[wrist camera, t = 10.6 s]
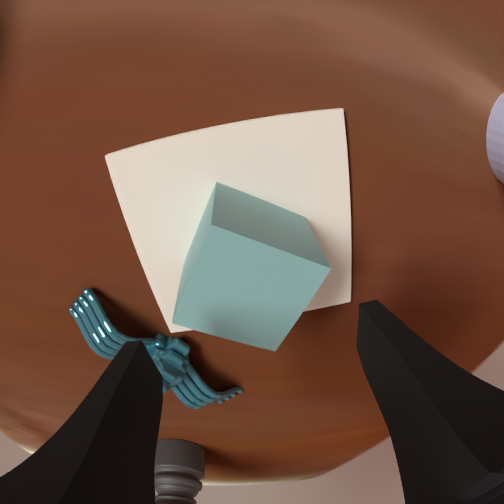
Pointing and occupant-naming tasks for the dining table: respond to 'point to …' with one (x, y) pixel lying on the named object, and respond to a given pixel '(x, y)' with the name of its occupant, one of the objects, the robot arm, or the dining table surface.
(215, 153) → the mat
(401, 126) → the dining table surface
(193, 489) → the candle holder
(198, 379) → the flying bird
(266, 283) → the teal cube
